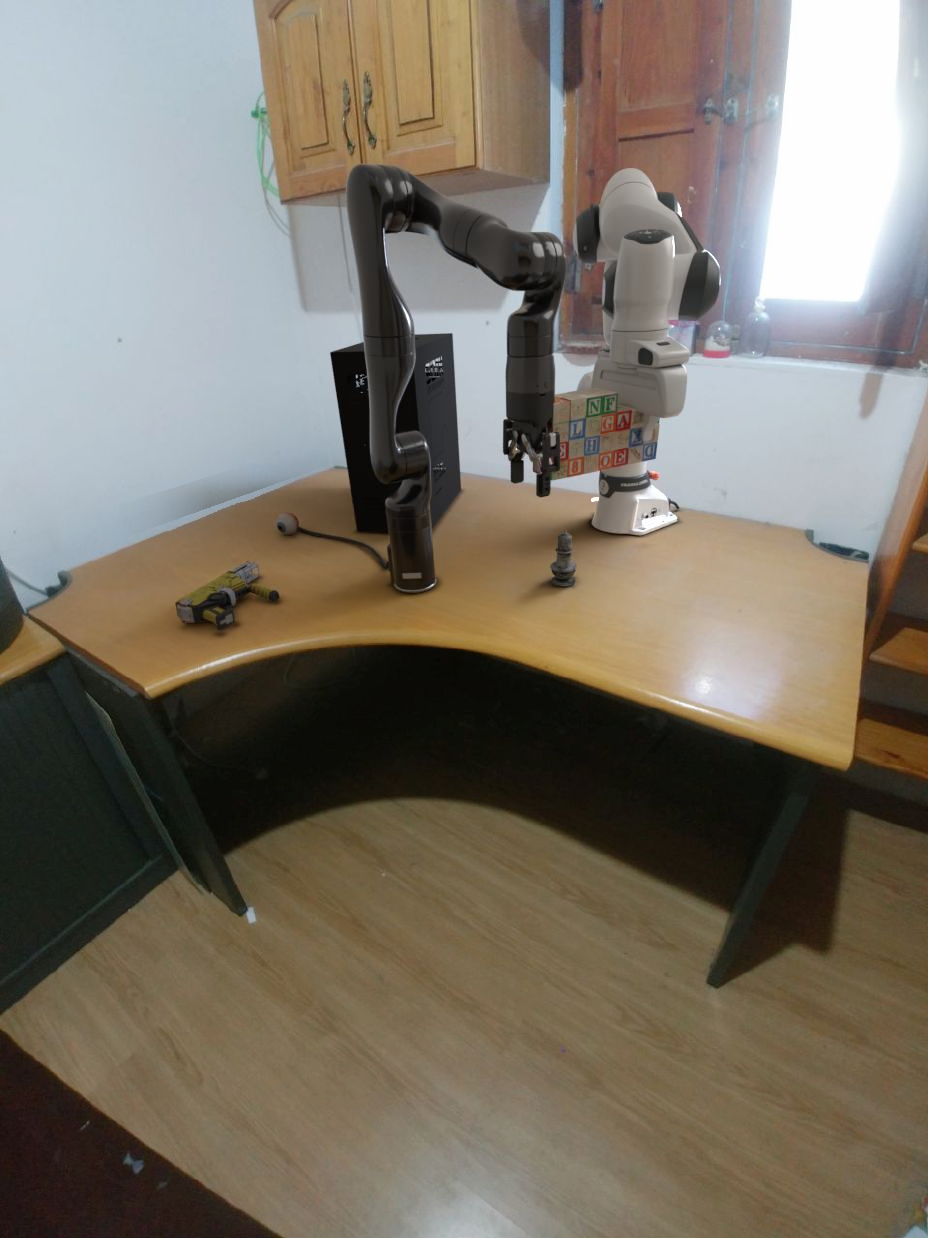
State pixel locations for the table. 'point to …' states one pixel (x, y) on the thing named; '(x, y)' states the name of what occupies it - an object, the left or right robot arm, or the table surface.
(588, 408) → the stack of blocks
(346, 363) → the cardboard box
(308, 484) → the table surface
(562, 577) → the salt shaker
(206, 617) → the toy gun
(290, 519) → the eyeball
